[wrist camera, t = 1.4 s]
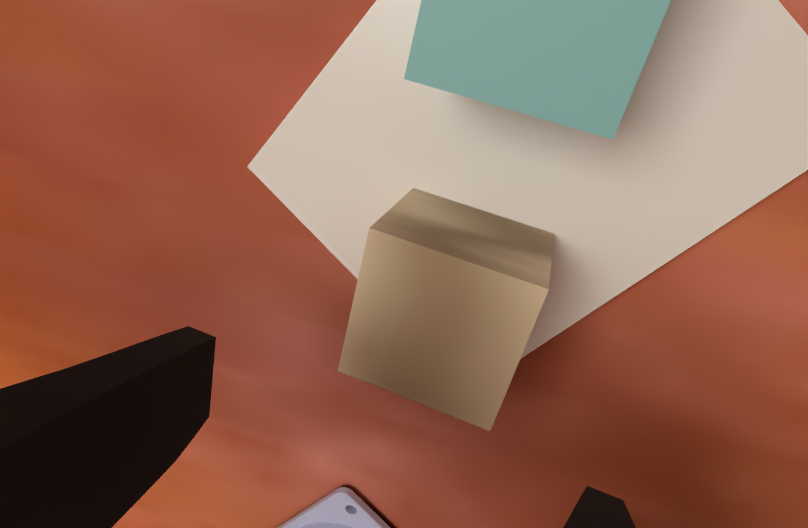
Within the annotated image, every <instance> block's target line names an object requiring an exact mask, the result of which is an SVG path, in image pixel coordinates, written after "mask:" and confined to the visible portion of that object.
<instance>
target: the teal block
mask: <svg viewBox="0 0 808 528" xmlns="http://www.w3.org/2000/svg"><path fill="white" fill-rule="evenodd" d="M670 2H671V0H421V5H420V9H419V14H418V18H417V22H416V27H415V31H414V36H413V40H412V45H411V49H410V54H409V58H408V63H407V67H406V72H405V76H404V79H406V80H409V81H413V82H416V83H419V84H423V85H426V86H430V87H433V88H437V89H440V90H444V91H447V92H451V93H454V94H457V95H461V96H464V97H468V98H471V99H475V100H478V101H482V102H485V103H488V104H492V105H495V106H499V107H502V108H506V109H509V110H513V111H516V112H520V113H523V114H526V115H530V116H533V117H537V118H540V119H544V120H547V121H551V122H554V123H558V124H561V125H564V126H568V127H571V128H575V129H578V130H582V131H585V132H589V133H592V134H596V135H599V136H602V137H606V138H609V139H614V136H615V134H616V131H617V129H618V127H619V124H620V122H621V119H622V117H623V115H624V112H625V110H626V107H627V105H628V103H629V100H630V98H631V95H632V93H633V91H634V88H635V86H636V83H637V81H638V79H639V76H640V74H641V71H642V69H643V66H644V64H645V62H646V59H647V57H648V54H649V52H650V50H651V47H652V45H653V42H654V40H655V38H656V35H657V33H658V30H659V28H660V26H661V23H662V21H663V18H664V16H665V14H666V11H667V9H668V6H669V4H670Z"/></svg>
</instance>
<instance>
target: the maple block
mask: <svg viewBox="0 0 808 528" xmlns="http://www.w3.org/2000/svg"><path fill="white" fill-rule="evenodd" d="M553 242H554V233H551V232H548V231H545V230H542V229H539V228H536V227H532V226H529V225H526V224H523V223H520V222H517V221H514V220H511V219H508V218H505V217H502V216H499V215H495V214H492V213H489V212H486V211H483V210H480V209H477V208H474V207H471V206H468V205H465V204H462V203H459V202H455V201H452V200H449V199H446V198H443V197H440V196H437V195H434V194H431V193H428V192H425V191H422V190H418V189H415V188H413V189H411V190H410V191H409V192H408V193H407V194H406V195H405V196H404V197H403V198H402V199H400V200H399V201H398V202H397V203H396V204H395V205H394V206H393V207H392V208H391V209H389V210H388V211H387V212H386V213H385V214H384V215H383V216H382V217H381V218H380V219H379V220H377V221H376V222H375V223H374V224H373V225H372V226H371V227H370V228H369V232H368V236H367V241H366V245H365V250H364V254H363V259H362V263H361V268H360V272H359V277H358V281H357V286H356V290H355V295H354V299H353V304H352V308H351V313H350V317H349V322H348V326H347V331H346V335H345V340H344V344H343V349H342V354H341V358H340V363H339V367H338V371H339V372H341V373H344V374H346V375H349V376H351V377H354V378H356V379H359V380H361V381H364V382H366V383H369V384H372V385H374V386H377V387H379V388H382V389H384V390H387V391H389V392H392V393H394V394H397V395H399V396H402V397H404V398H407V399H409V400H412V401H415V402H417V403H420V404H422V405H425V406H427V407H430V408H432V409H435V410H437V411H440V412H442V413H445V414H447V415H450V416H452V417H455V418H458V419H460V420H463V421H465V422H468V423H470V424H473V425H475V426H478V427H480V428H483V429H485V430H488V431H491V428H492V426H493V424H494V421H495V419H496V416H497V414H498V412H499V409H500V407H501V404H502V402H503V399H504V397H505V395H506V392H507V390H508V387H509V385H510V383H511V380H512V378H513V375H514V373H515V370H516V368H517V366H518V363H519V361H520V358H521V356H522V354H523V351H524V349H525V346H526V344H527V341H528V339H529V337H530V334H531V332H532V329H533V327H534V325H535V322H536V320H537V317H538V315H539V313H540V310H541V308H542V305H543V303H544V300H545V298H546V296H547V293H548V291H549V284H550V274H551V263H552V252H553Z"/></svg>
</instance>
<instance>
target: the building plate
mask: <svg viewBox="0 0 808 528" xmlns="http://www.w3.org/2000/svg"><path fill="white" fill-rule="evenodd" d="M420 5H421V0H376V2H375V3H374V4H373V6H372V7H371V8H370V9H369V11H368V12H367V13H366V15H365V16H364V17H363V18H362V20H361V21H360V22H359V24H358V25H357V26H356V27H355V29H354V30H353V31H352V33H351V34H350V35H349V36H348V38H347V39H346V40H345V42H344V43H343V44H342V45H341V47H340V48H339V49H338V51H337V52H336V53H335V54H334V56H333V57H332V58H331V60H330V61H329V62H328V63H327V65H326V66H325V67H324V69H323V70H322V71H321V72H320V74H319V75H318V76H317V78H316V79H315V80H314V81H313V83H312V84H311V85H310V87H309V88H308V89H307V91H306V92H305V93H304V94H303V96H302V97H301V98H300V100H299V101H298V102H297V103H296V105H295V106H294V107H293V109H292V110H291V111H290V112H289V114H288V115H287V116H286V118H285V119H284V120H283V121H282V123H281V124H280V125H279V127H278V128H277V129H276V130H275V132H274V133H273V134H272V136H271V137H270V138H269V139H268V141H267V142H266V143H265V145H264V146H263V147H262V148H261V150H260V151H259V152H258V154H257V155H256V156H255V157H254V159H253V160H252V161H251V163H250V164H249V165H248V166H247V167H248V168H249V169H250V170H251V171H252V172H253V173H254V174H255V175H256V176H257V177H258V178H259V179H260V180H261V181H262V182H263V183H264V184H265V185H266V186H267V187H268V188H269V189H270V190H271V191H272V192H273V193H274V194H275V195H276V196H277V197H278V198H279V199H280V201H281V202H282V203H283V204H284V205H285V206H286V207H287V208H288V209H289V210H290V211H291V212H292V213H293V214H294V215H295V216H296V217H297V218H298V219H299V220H300V221H301V222H302V223H303V224H304V225H305V226H306V227H307V228H308V229H309V230H310V231H311V232H312V233H313V234H314V235H315V236H316V237H317V238H318V239H319V240H320V241H321V242H322V243H323V244H324V245H325V246H326V248H327V249H328V250H329V251H330V252H331V253H332V254H333V255H334V256H335V257H336V258H337V259H338V260H339V261H340V262H341V263H342V264H343V265H344V266H345V267H346V268H347V269H348V270H349V271H350V272H351V273H352V274H353V275H354V276H355V277H356V278H357V279H358V277H359V272H360V268H361V263H362V259H363V254H364V250H365V245H366V241H367V236H368V232H369V228H370V227H371V226H372V225H373V224H374V223H375V222H376V221H377V220H379V219H380V218H381V217H382V216H383V215H384V214H385V213H386V212H387V211H388V210H389V209H391V208H392V207H393V206H394V205H395V204H396V203H397V202H398V201H399V200H400V199H402V198H403V197H404V196H405V195H406V194H407V193H408V192H409V191H410V190H411V189H413V188H415V189H418V190H422V191H425V192H428V193H431V194H434V195H437V196H440V197H443V198H446V199H449V200H452V201H455V202H459V203H462V204H465V205H468V206H471V207H474V208H477V209H480V210H483V211H486V212H489V213H492V214H495V215H499V216H502V217H505V218H508V219H511V220H514V221H517V222H520V223H523V224H526V225H529V226H532V227H536V228H539V229H542V230H545V231H548V232H551V233H554V242H553V252H552V263H551V274H550V284H549V291H548V293H547V296H546V298H545V300H544V303H543V305H542V308H541V310H540V313H539V315H538V317H537V320H536V322H535V325H534V327H533V329H532V332H531V334H530V337H529V339H528V341H527V344H526V346H525V349H524V351H523V354H522V356H521V358H522V357H524V356H525V355H527V354H528V353H530V352H532V351H533V350H535V349H536V348H538V347H539V346H541V345H542V344H544V343H545V342H547V341H548V340H550V339H551V338H553V337H554V336H556V335H557V334H559V333H560V332H562V331H563V330H565V329H566V328H568V327H569V326H571V325H573V324H574V323H576V322H577V321H579V320H580V319H582V318H583V317H585V316H586V315H588V314H589V313H591V312H592V311H594V310H595V309H597V308H598V307H600V306H601V305H603V304H604V303H606V302H607V301H609V300H611V299H612V298H614V297H615V296H617V295H618V294H620V293H621V292H623V291H624V290H626V289H627V288H629V287H630V286H632V285H633V284H635V283H636V282H638V281H639V280H641V279H642V278H644V277H645V276H647V275H648V274H650V273H652V272H653V271H655V270H656V269H658V268H659V267H661V266H662V265H664V264H665V263H667V262H668V261H670V260H671V259H673V258H674V257H676V256H677V255H679V254H680V253H682V252H683V251H685V250H686V249H688V248H690V247H691V246H693V245H694V244H696V243H697V242H699V241H700V240H702V239H703V238H705V237H706V236H708V235H709V234H711V233H712V232H714V231H715V230H717V229H718V228H720V227H721V226H723V225H724V224H726V223H727V222H729V221H731V220H732V219H734V218H735V217H737V216H738V215H740V214H741V213H743V212H744V211H746V210H747V209H749V208H750V207H752V206H753V205H755V204H756V203H758V202H759V201H761V200H762V199H764V198H765V197H767V196H768V195H770V194H772V193H773V192H775V191H776V190H778V189H779V188H781V187H782V186H784V185H785V184H787V183H788V182H790V181H791V180H793V179H794V178H796V177H797V176H799V175H800V174H802V173H803V172H805V171H806V170H808V35H807V34H806V33H805V32H804V31H803V29H802V28H801V27H800V26H799V25H798V23H797V22H796V21H795V20H794V19H793V17H792V16H791V15H790V14H789V13H788V11H787V10H786V9H785V8H784V7H783V5H782V4H781V3H780V2H779V1H778V0H671V2H670V4H669V6H668V9H667V11H666V14H665V16H664V18H663V21H662V23H661V26H660V28H659V30H658V33H657V35H656V38H655V40H654V42H653V45H652V47H651V50H650V52H649V54H648V57H647V59H646V62H645V64H644V66H643V69H642V71H641V74H640V76H639V79H638V81H637V83H636V86H635V88H634V91H633V93H632V95H631V98H630V100H629V103H628V105H627V107H626V110H625V112H624V115H623V117H622V119H621V122H620V124H619V127H618V129H617V131H616V134H615V136H614V139H609V138H606V137H602V136H599V135H596V134H592V133H589V132H585V131H582V130H578V129H575V128H571V127H568V126H564V125H561V124H558V123H554V122H551V121H547V120H544V119H540V118H537V117H533V116H530V115H526V114H523V113H520V112H516V111H513V110H509V109H506V108H502V107H499V106H495V105H492V104H488V103H485V102H482V101H478V100H475V99H471V98H468V97H464V96H461V95H457V94H454V93H451V92H447V91H444V90H440V89H437V88H433V87H430V86H426V85H423V84H419V83H416V82H413V81H409V80H406V79H404V76H405V72H406V67H407V63H408V58H409V54H410V49H411V45H412V40H413V36H414V31H415V27H416V22H417V18H418V14H419V9H420ZM521 358H520V359H521Z"/></svg>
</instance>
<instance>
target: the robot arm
mask: <svg viewBox="0 0 808 528" xmlns="http://www.w3.org/2000/svg"><path fill="white" fill-rule="evenodd" d="M215 341H216V337H214V336H211V335H209V334H206V333H204V332H201V331H199V330H196V329H194V328H191V327H189V326H188V327H185V328H182V329H178V330H175V331H172V332H169V333H166V334H163V335H160V336H158V337H155V338H152V339H149V340H146V341H143V342H141V343H138V344H135V345H132V346H129V347H127V348H124V349H121V350H118V351H115V352H112V353H110V354H107V355H104V356H101V357H98V358H95V359H92V360H89V361H86V362H84V363H81V364H78V365H75V366H72V367H69V368H66V369H63V370H60V371H57V372H53V373H50V374H47V375H44V376H40V377H37V378H34V379H31V380H27V381H24V382H21V383H18V384H15V385H11V386H8V387H5V388H2V389H0V528H112V527H113V526H114V524H115V523H116V522H117V521H118V520H119V519H120V518H121V517H122V516H123V515H124V514H125V513H126V512H127V511H128V510H129V509H130V508H131V507H132V506H133V505H134V504H135V503H136V502H137V501H138V500H139V499H140V498H141V497H142V496H143V495H144V494H145V493H146V491H147V490H148V489H149V488H150V487H151V486H152V485H153V484H154V483H155V482H156V481H157V480H158V479H159V478H160V477H161V476H162V475H163V474H164V473H165V472H166V471H167V469H168V468H169V467H170V466H171V465H172V464H173V463H174V462H175V461H176V460H177V458H178V457H179V456H180V455H181V453H182V452H183V451H184V449H185V448H186V447H187V446H188V444H189V443H190V442H191V440H192V439H193V438H194V436H195V435H196V434H197V432H198V431H199V430H200V428H201V427H202V426H203V424H204V423H205V421H206V420H207V419H208V417H209V412H210V400H211V388H212V376H213V364H214V353H215ZM277 528H390V527H389V526H388V525H387V524H386V523H385V522H384V521H383V520H382V519H381V518H380V517H379V516H378V515H377V514H376V513H375V512H374V511H373V510H372V509H371V508H370V507H369V506H368V505H367V504H366V503H365V502H364V501H363V500H362V499H360V498H359V497H358V496H357V495H356V494H355V493H354V492H353V491H352V490H351V489H349V488H346V487H340V488H337V489H336V490H334V491H333V492H331V493H330V494H328V495H327V496H325V497H324V498H322V499H320V500H319V501H317V502H316V503H314V504H313V505H311V506H310V507H308V508H306V509H305V510H303V511H302V512H300V513H299V514H297V515H296V516H294V517H293V518H291V519H289V520H288V521H286V522H285V523H283V524H282V525H280V526H279V527H277ZM564 528H635V525H634V523H633V521H632V519H631V516H630V514H629V512H628V510H627V508H626V505H625V503H624V501H623V500H621V499H618V498H616V497H613V496H611V495H608V494H606V493H603V492H601V491H598V490H596V489H593V488H591V487H588V486H587V487H586V489H585V490H584V492H583V494H582V496H581V498H580V499H579V501H578V503H577V505H576V506H575V508H574V510H573V512H572V514H571V515H570V517H569V519H568V521H567V522H566V524H565V526H564Z"/></svg>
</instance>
